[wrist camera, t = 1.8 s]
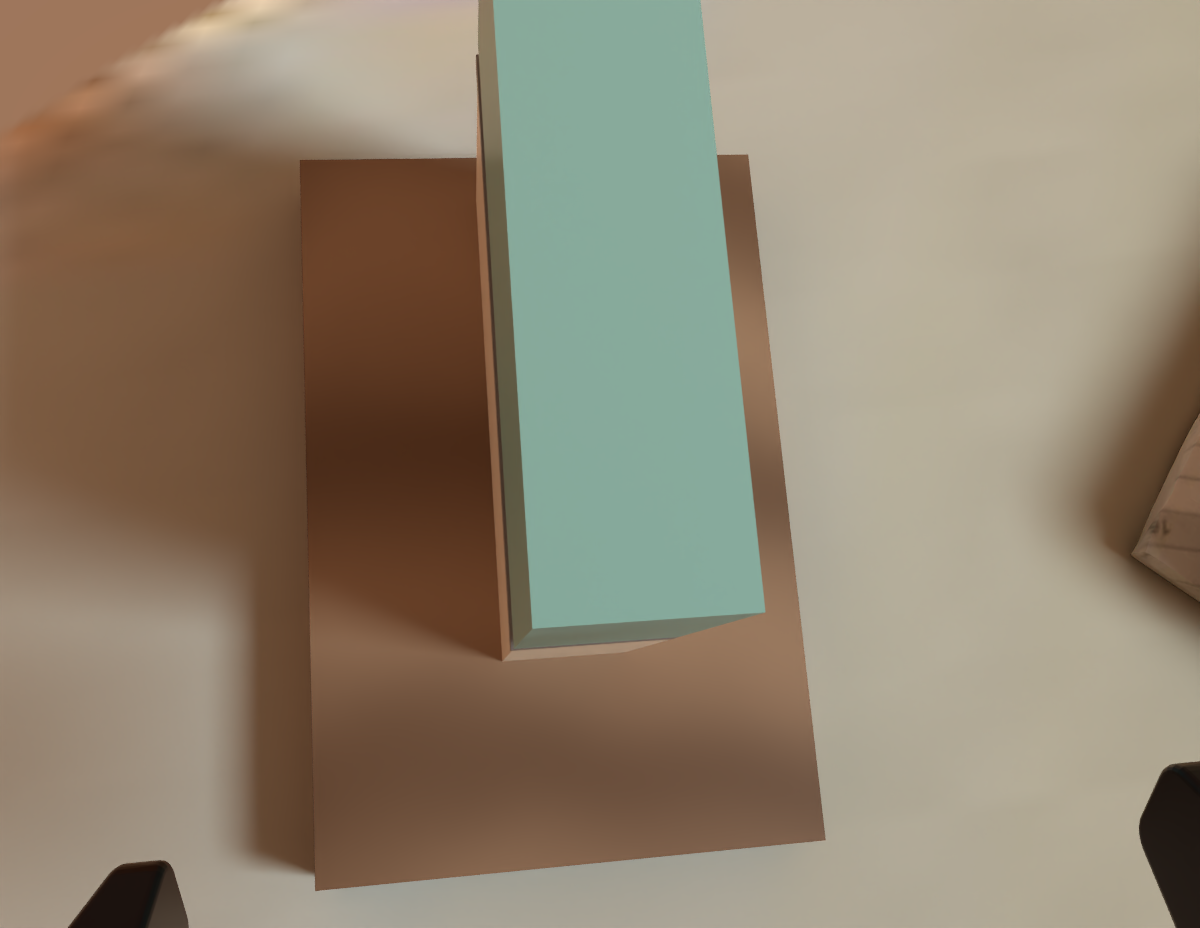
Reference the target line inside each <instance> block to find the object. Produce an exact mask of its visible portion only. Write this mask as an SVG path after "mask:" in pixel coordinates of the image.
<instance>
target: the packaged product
mask: <svg viewBox="0 0 1200 928" xmlns="http://www.w3.org/2000/svg"><path fill="white" fill-rule="evenodd" d="M1131 556H1133V557H1134V558H1135V559H1137V560H1138V561H1140V562H1141V563H1143V564H1144V565H1146V566H1147V567H1148V568H1150V569H1151V570H1153V571H1154V572H1156V573H1157V574H1159V575H1160V576H1161V577H1163V578H1164V579H1166V580H1167V581H1169V582H1170V583H1172V584H1173V585H1175V586H1176V587H1178V588H1179V589H1181V590H1182V591H1184V592H1185V593H1187V594H1188V595H1190V596H1191V597H1193V598H1194V599H1196V600H1197V601H1199V602H1200V413H1199V415H1198V417H1197V419H1196V420H1195V422H1194V424H1193V426H1192V428H1191V429H1190V431H1189V433H1188V435H1187V437H1186V438H1185V441H1184V443H1183V445H1182V447H1181V449H1180V451H1179V453H1178V455H1177V457H1176V459H1175V461H1174V464H1173V466H1172V468H1171V470H1170V472H1169V474H1168V476H1167V478H1166V480H1165V482H1164V485H1163V487H1162V489H1161V491H1160V493H1159V495H1158V497H1157V499H1156V501H1155V503H1154V505H1153V508H1152V510H1151V512H1150V515H1149V517H1148V519H1147V522H1146V524H1145V526H1144V529H1143V531H1142V534H1141V536H1140V538H1139V541H1138V543H1137V545H1136V547H1135V548H1134V550H1133V552H1132V553H1131Z"/></svg>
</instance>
